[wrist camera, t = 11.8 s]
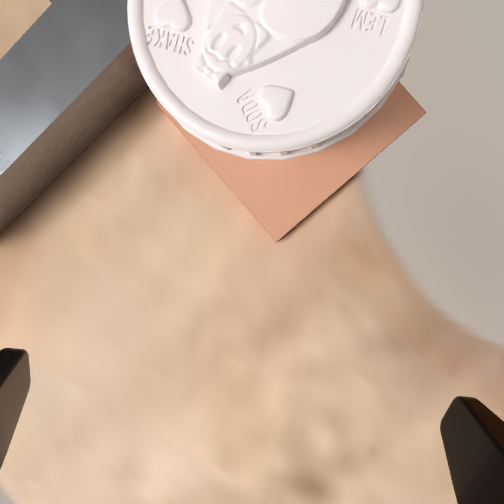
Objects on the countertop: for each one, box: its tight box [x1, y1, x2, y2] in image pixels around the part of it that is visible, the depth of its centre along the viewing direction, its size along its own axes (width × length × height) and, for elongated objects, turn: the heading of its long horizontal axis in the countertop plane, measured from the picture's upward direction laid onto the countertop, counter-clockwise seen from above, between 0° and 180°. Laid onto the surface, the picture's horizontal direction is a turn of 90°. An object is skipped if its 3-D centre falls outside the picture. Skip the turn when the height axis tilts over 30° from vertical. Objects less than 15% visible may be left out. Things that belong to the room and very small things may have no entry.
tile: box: [156, 82, 426, 242], centre depth 19 cm, size 8×8×1 cm
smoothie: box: [127, 0, 424, 160], centre depth 12 cm, size 6×6×14 cm
